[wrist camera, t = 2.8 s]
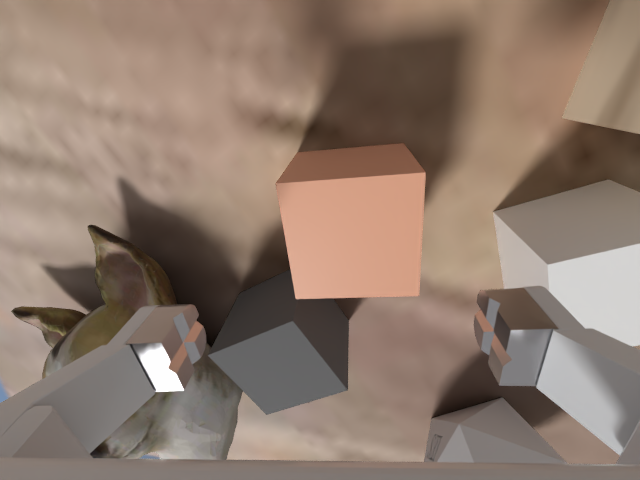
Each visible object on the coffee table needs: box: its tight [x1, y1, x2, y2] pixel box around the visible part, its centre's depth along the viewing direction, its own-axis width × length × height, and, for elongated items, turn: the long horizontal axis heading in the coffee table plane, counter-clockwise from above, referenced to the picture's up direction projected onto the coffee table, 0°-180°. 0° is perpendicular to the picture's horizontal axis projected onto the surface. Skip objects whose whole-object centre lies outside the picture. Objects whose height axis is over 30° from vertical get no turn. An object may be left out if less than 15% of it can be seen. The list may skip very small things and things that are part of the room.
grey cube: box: [493, 179, 640, 346], centre depth 14 cm, size 5×5×5 cm
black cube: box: [208, 269, 349, 415], centre depth 17 cm, size 5×5×5 cm
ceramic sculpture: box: [11, 225, 243, 460], centre depth 18 cm, size 11×9×15 cm
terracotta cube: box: [276, 143, 426, 299], centre depth 14 cm, size 5×5×5 cm
